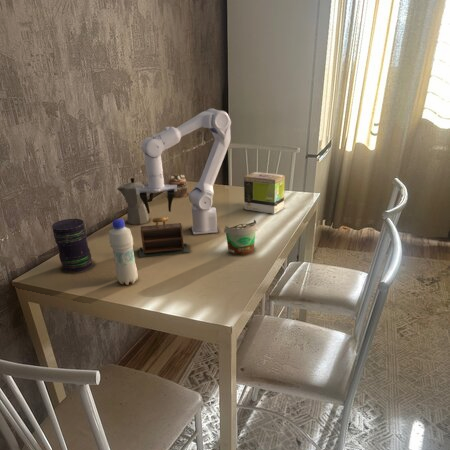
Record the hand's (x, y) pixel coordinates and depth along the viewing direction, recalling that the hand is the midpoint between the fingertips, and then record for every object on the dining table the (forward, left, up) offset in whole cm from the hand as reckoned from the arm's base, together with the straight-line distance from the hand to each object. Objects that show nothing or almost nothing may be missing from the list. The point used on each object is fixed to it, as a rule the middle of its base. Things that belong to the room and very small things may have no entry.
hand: (159, 211), depth 152 cm
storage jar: (+29, +18, -11) cm, 36 cm away
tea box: (-46, -23, -11) cm, 53 cm away
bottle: (+12, +33, -11) cm, 37 cm away
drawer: (0, +12, -10) cm, 16 cm away
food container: (-28, +21, -11) cm, 36 cm away
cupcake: (-11, -55, -11) cm, 57 cm away
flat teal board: (0, +12, -10) cm, 16 cm away
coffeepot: (+8, -22, -11) cm, 26 cm away
